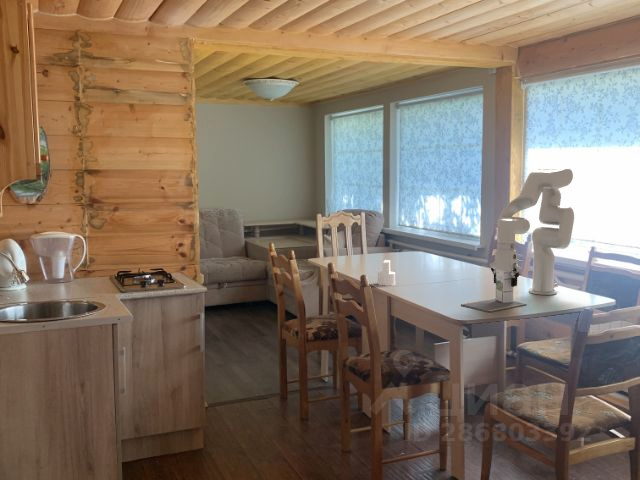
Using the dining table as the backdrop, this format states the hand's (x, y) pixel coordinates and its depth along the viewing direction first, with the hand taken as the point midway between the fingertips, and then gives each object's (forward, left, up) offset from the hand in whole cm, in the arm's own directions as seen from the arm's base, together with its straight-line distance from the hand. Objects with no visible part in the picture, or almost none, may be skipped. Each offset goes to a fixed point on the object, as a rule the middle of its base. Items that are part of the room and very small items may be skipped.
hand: (505, 284), depth 285 cm
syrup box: (0, 0, -8) cm, 8 cm away
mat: (+9, +1, -8) cm, 12 cm away
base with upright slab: (+15, -64, -8) cm, 66 cm away
